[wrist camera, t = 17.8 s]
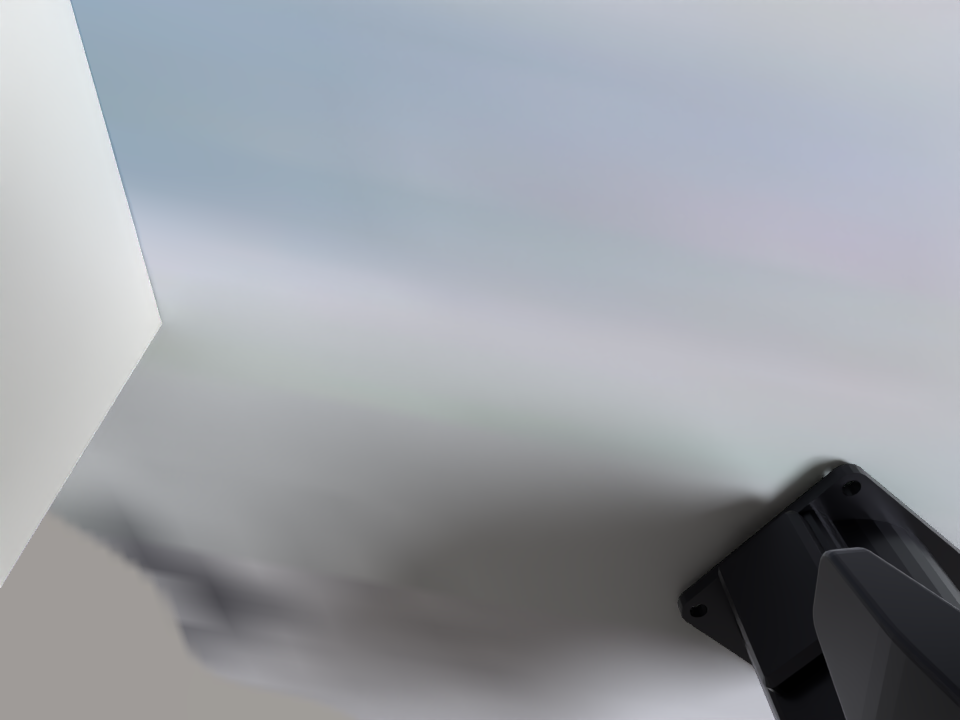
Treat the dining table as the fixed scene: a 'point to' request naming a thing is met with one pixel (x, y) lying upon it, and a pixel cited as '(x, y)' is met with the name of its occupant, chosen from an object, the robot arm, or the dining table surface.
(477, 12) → the dining table surface
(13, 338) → the plain white closed box
